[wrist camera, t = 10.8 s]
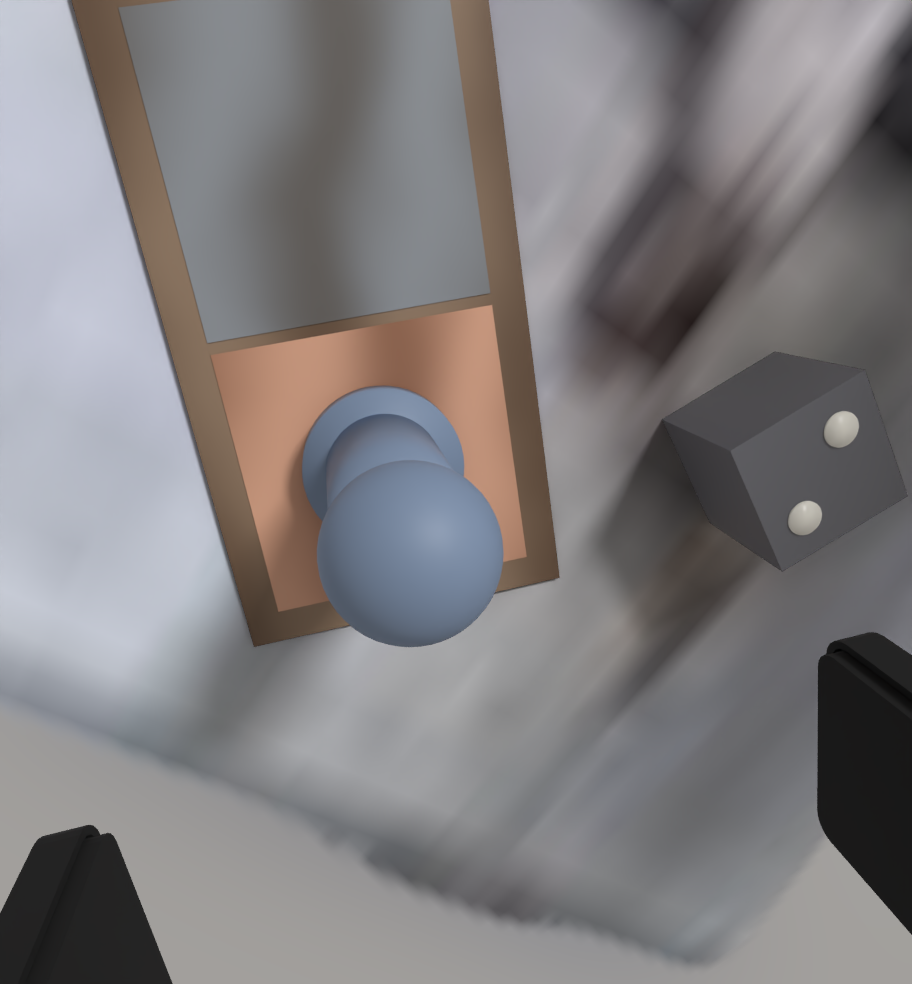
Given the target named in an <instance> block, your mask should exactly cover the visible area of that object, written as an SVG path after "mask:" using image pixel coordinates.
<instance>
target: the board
mask: <svg viewBox="0 0 912 984" xmlns="http://www.w3.org/2000/svg"><path fill="white" fill-rule="evenodd" d="M72 4H73V7H74V11H75V14H76V18H77V22H78V25H79V29H80V32H81V36H82V39H83V43H84V46H85V50H86V53H87V57H88V60H89V64H90V68H91V71H92V75H93V78H94V82H95V85H96V89H97V92H98V96H99V99H100V103H101V107H102V110H103V114H104V117H105V121H106V124H107V128H108V131H109V135H110V138H111V142H112V145H113V149H114V153H115V156H116V160H117V163H118V167H119V170H120V174H121V177H122V181H123V184H124V188H125V192H126V195H127V199H128V202H129V206H130V209H131V213H132V216H133V220H134V223H135V227H136V230H137V234H138V238H139V241H140V245H141V248H142V252H143V255H144V259H145V262H146V266H147V269H148V273H149V276H150V280H151V284H152V287H153V291H154V294H155V298H156V301H157V305H158V308H159V312H160V315H161V319H162V323H163V326H164V330H165V333H166V337H167V340H168V344H169V347H170V351H171V354H172V358H173V361H174V365H175V369H176V372H177V376H178V379H179V383H180V386H181V390H182V393H183V397H184V400H185V404H186V408H187V411H188V415H189V418H190V422H191V425H192V429H193V432H194V436H195V439H196V443H197V446H198V450H199V454H200V457H201V461H202V464H203V468H204V471H205V475H206V478H207V482H208V485H209V489H210V492H211V496H212V500H213V503H214V507H215V510H216V514H217V517H218V521H219V524H220V528H221V531H222V535H223V539H224V542H225V546H226V549H227V553H228V556H229V560H230V563H231V567H232V570H233V574H234V577H235V581H236V585H237V588H238V592H239V595H240V599H241V602H242V606H243V609H244V613H245V616H246V620H247V624H248V627H249V631H250V634H251V638H252V641H253V645H254V647H255V646H260V645H264V644H269V643H273V642H277V641H282V640H286V639H291V638H295V637H300V636H304V635H308V634H313V633H317V632H322V631H326V630H330V629H335V628H339V627H344V626H348V625H349V624H348V623H347V622H346V621H345V620H344V619H343V618H342V617H341V616H340V615H339V614H338V613H337V611H336V610H335V609H334V607H333V606H332V604H331V603H330V601H329V599H328V597H327V595H326V593H325V591H324V589H323V586H322V583H321V580H320V576H319V570H318V564H317V544H318V537H319V532H320V529H321V525H322V522H323V521H322V520H321V519H320V518H319V517H318V516H317V514H316V513H315V511H314V510H313V508H312V506H311V504H310V502H309V500H308V498H307V495H306V492H305V489H304V484H303V478H302V460H303V451H304V446H305V442H306V439H307V436H308V434H309V431H310V429H311V427H312V426H313V424H314V422H315V420H316V419H317V418H318V417H319V415H320V414H321V413H322V412H323V411H324V410H325V409H326V408H327V407H328V406H329V405H330V404H331V403H333V402H334V401H335V400H337V399H338V398H340V397H341V396H343V395H345V394H347V393H349V392H352V391H354V390H357V389H360V388H364V387H369V386H395V387H400V388H404V389H408V390H410V391H413V392H415V393H417V394H419V395H421V396H423V397H424V398H426V399H428V400H429V401H430V402H431V403H433V404H434V405H435V406H436V407H437V408H438V409H439V410H440V411H441V412H442V413H443V414H444V416H445V417H446V418H447V419H448V421H449V422H450V424H451V425H452V426H453V428H454V430H455V432H456V434H457V435H458V438H459V441H460V443H461V447H462V451H463V456H464V477H465V478H466V479H467V480H469V481H470V482H471V483H472V484H473V485H474V486H475V487H476V488H477V489H478V490H479V491H480V492H481V493H482V494H483V495H484V497H485V498H486V499H487V501H488V502H489V504H490V506H491V508H492V509H493V511H494V513H495V515H496V518H497V521H498V523H499V526H500V530H501V534H502V540H503V552H504V554H503V566H502V571H501V576H500V580H499V583H498V586H497V589H496V591H495V592H498V591H502V590H507V589H511V588H516V587H520V586H525V585H529V584H533V583H538V582H542V581H547V580H551V579H555V578H559V569H558V561H557V553H556V545H555V537H554V529H553V521H552V512H551V504H550V496H549V488H548V480H547V472H546V464H545V456H544V447H543V439H542V431H541V423H540V415H539V407H538V399H537V391H536V382H535V374H534V366H533V358H532V350H531V342H530V334H529V326H528V317H527V309H526V301H525V293H524V285H523V277H522V269H521V260H520V252H519V244H518V236H517V228H516V220H515V212H514V204H513V195H512V187H511V179H510V171H509V163H508V155H507V147H506V139H505V130H504V122H503V114H502V106H501V98H500V90H499V82H498V74H497V65H496V57H495V49H494V41H493V33H492V25H491V17H490V9H489V0H72Z"/></svg>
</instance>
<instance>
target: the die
mask: <svg viewBox="0 0 912 984" xmlns="http://www.w3.org/2000/svg"><path fill="white" fill-rule="evenodd" d="M662 420H663V423H664V425H665V427H666V429H667V431H668V433H669V435H670V438H671V440H672V442H673V444H674V446H675V448H676V451H677V453H678V455H679V457H680V459H681V461H682V464H683V466H684V468H685V470H686V472H687V474H688V477H689V479H690V481H691V483H692V485H693V487H694V489H695V492H696V494H697V496H698V498H699V500H700V502H701V505H702V507H703V509H704V511H705V513H706V515H707V518H708V520H709V522H710V523H711V524H712V525H714V526H715V527H717V528H718V529H720V530H721V531H723V532H724V533H726V534H727V535H729V536H730V537H732V538H733V539H735V540H736V541H738V542H739V543H741V544H742V545H744V546H745V547H747V548H748V549H750V550H751V551H753V552H754V553H755V554H757V555H758V556H760V557H761V558H763V559H764V560H766V561H767V562H769V563H770V564H772V565H773V566H775V567H776V568H778V569H779V570H781V571H784V570H786V569H787V568H789V567H791V566H792V565H794V564H796V563H797V562H799V561H801V560H802V559H804V558H805V557H807V556H809V555H810V554H812V553H814V552H815V551H817V550H819V549H820V548H822V547H824V546H825V545H827V544H829V543H830V542H832V541H834V540H835V539H837V538H839V537H840V536H842V535H844V534H845V533H847V532H849V531H850V530H852V529H854V528H855V527H857V526H859V525H860V524H862V523H864V522H865V521H867V520H869V519H870V518H872V517H874V516H875V515H877V514H879V513H880V512H882V511H884V510H885V509H887V508H889V507H890V506H892V505H894V504H895V503H897V502H899V501H900V500H902V499H904V498H905V497H907V496H908V495H907V492H906V489H905V486H904V483H903V480H902V478H901V475H900V472H899V469H898V466H897V463H896V460H895V457H894V454H893V451H892V448H891V445H890V442H889V439H888V436H887V433H886V430H885V427H884V425H883V422H882V419H881V416H880V413H879V410H878V407H877V404H876V401H875V398H874V395H873V392H872V389H871V386H870V383H869V380H868V377H867V374H866V371H865V370H863V369H858V368H853V367H848V366H843V365H838V364H833V363H828V362H823V361H818V360H813V359H808V358H803V357H798V356H793V355H789V354H784V353H779V352H773V353H772V354H770V355H768V356H767V357H765V358H763V359H762V360H760V361H758V362H757V363H755V364H753V365H752V366H750V367H748V368H747V369H745V370H743V371H742V372H740V373H738V374H737V375H735V376H733V377H732V378H730V379H728V380H727V381H725V382H723V383H722V384H720V385H718V386H717V387H715V388H713V389H712V390H710V391H709V392H707V393H705V394H704V395H702V396H700V397H699V398H697V399H695V400H694V401H692V402H690V403H689V404H687V405H685V406H684V407H682V408H680V409H679V410H677V411H675V412H674V413H672V414H670V415H669V416H667V417H665V418H664V419H662Z"/></svg>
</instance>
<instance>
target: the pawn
mask: <svg viewBox="0 0 912 984" xmlns="http://www.w3.org/2000/svg"><path fill="white" fill-rule="evenodd" d="M302 478H303V484H304V489H305V492H306V495H307V498H308V500H309V502H310V504H311V506H312V508H313V510H314V511H315V513H316V514H317V516H318V517H319V518H320V519H321V520H322V521H323V522H322V525H321V529H320V532H319V537H318V544H317V564H318V570H319V576H320V580H321V583H322V586H323V589H324V591H325V593H326V595H327V597H328V599H329V601H330V603H331V604H332V606H333V607H334V609H335V610H336V611H337V613H338V614H339V615H340V616H341V617H342V618H343V619H344V620H345V621H346V622H347V623H348V624H349V625H351V626H352V627H353V628H354V629H355V630H357V631H358V632H360V633H362V634H363V635H365V636H367V637H369V638H371V639H373V640H375V641H378V642H382V643H385V644H389V645H394V646H400V647H421V646H426V645H432V644H435V643H438V642H442V641H444V640H446V639H449V638H451V637H453V636H455V635H456V634H458V633H460V632H461V631H463V630H464V629H465V628H467V627H468V626H469V625H471V624H472V623H473V622H474V621H475V620H476V619H477V618H478V617H479V615H480V614H481V613H482V612H483V611H484V610H485V608H486V607H487V605H488V604H489V602H490V601H491V599H492V597H493V595H494V593H495V591H496V589H497V586H498V583H499V580H500V576H501V571H502V566H503V554H504V552H503V540H502V534H501V530H500V526H499V523H498V521H497V518H496V515H495V513H494V511H493V509H492V508H491V506H490V504H489V502H488V501H487V499H486V498H485V497H484V495H483V494H482V493H481V492H480V491H479V490H478V489H477V488H476V487H475V486H474V485H473V484H472V483H471V482H470V481H469V480H467V479H466V478H465V477H464V456H463V451H462V447H461V443H460V441H459V438H458V435H457V434H456V432H455V430H454V428H453V426H452V425H451V424H450V422H449V421H448V419H447V418H446V417H445V416H444V414H443V413H442V412H441V411H440V410H439V409H438V408H437V407H436V406H435V405H434V404H433V403H431V402H430V401H429V400H428V399H426V398H424V397H423V396H421V395H419V394H417V393H415V392H413V391H410V390H408V389H404V388H400V387H395V386H369V387H364V388H360V389H357V390H354V391H352V392H349V393H347V394H345V395H343V396H341V397H340V398H338V399H337V400H335V401H334V402H333V403H331V404H330V405H329V406H328V407H327V408H326V409H325V410H324V411H323V412H322V413H321V414H320V415H319V417H318V418H317V419H316V420H315V422H314V424H313V426H312V427H311V429H310V431H309V434H308V436H307V439H306V442H305V446H304V451H303V460H302Z"/></svg>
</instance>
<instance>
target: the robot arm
mask: <svg viewBox="0 0 912 984" xmlns="http://www.w3.org/2000/svg"><path fill="white" fill-rule="evenodd" d="M817 811H818V817H819V821H820V824H821V826H822V829H823V831H824V832H825V834H826V836H827V837H828V839H829V840H830V841H831V843H832V844H833V845H834V846H835V847H836V848H837V850H838V851H839V852H840V853H841V854H842V855H843V856H844V858H845V859H846V860H847V861H848V862H849V863H850V864H851V866H852V867H853V868H854V869H855V870H856V871H857V872H858V874H859V875H860V876H861V877H862V878H863V879H864V881H865V882H866V883H867V884H868V885H869V886H870V887H871V888H872V890H873V891H874V892H875V893H876V894H877V895H878V896H879V898H880V899H881V900H882V901H883V902H884V903H885V905H886V906H887V907H888V908H889V909H890V910H891V911H892V912H893V914H894V915H895V916H896V917H897V918H898V919H899V921H900V922H901V923H902V924H903V925H904V926H905V927H906V929H907V930H908V931H909V932H910V933H911V934H912V655H911V654H909V653H908V652H906V651H905V650H903V649H902V648H900V647H899V646H897V645H896V644H894V643H893V642H891V641H890V640H888V639H887V638H885V637H884V636H882V635H880V634H878V633H872V632H870V633H865V634H861V635H857V636H853V637H849V638H845V639H841V640H837V641H834V642H832V643H830V645H829V646H828V648H827V653H826V655H824V656H822V657H821V658H820V660H819V663H818V788H817ZM0 984H172V981H171V979H170V976H169V974H168V971H167V969H166V966H165V964H164V961H163V958H162V956H161V953H160V951H159V948H158V946H157V943H156V941H155V938H154V936H153V933H152V930H151V928H150V926H149V923H148V920H147V918H146V915H145V913H144V910H143V908H142V905H141V902H140V900H139V898H138V895H137V892H136V890H135V887H134V885H133V882H132V880H131V877H130V875H129V872H128V869H127V867H126V864H125V862H124V859H123V857H122V854H121V852H120V849H119V847H118V844H117V841H116V840H115V838H114V836H113V835H112V834H111V833H106V834H102V835H100V833H99V831H98V830H97V829H96V828H95V827H94V826H92V825H86V826H83V827H78V828H74V829H70V830H66V831H62V832H58V833H54V834H50V835H46V836H42V837H41V838H39V839H38V840H37V841H36V843H35V844H34V846H33V847H32V849H31V851H30V854H29V856H28V858H27V860H26V862H25V864H24V866H23V868H22V870H21V872H20V874H19V876H18V878H17V880H16V882H15V884H14V887H13V888H12V890H11V892H10V894H9V896H8V899H7V901H6V903H5V905H4V907H3V909H2V911H1V913H0Z"/></svg>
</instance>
